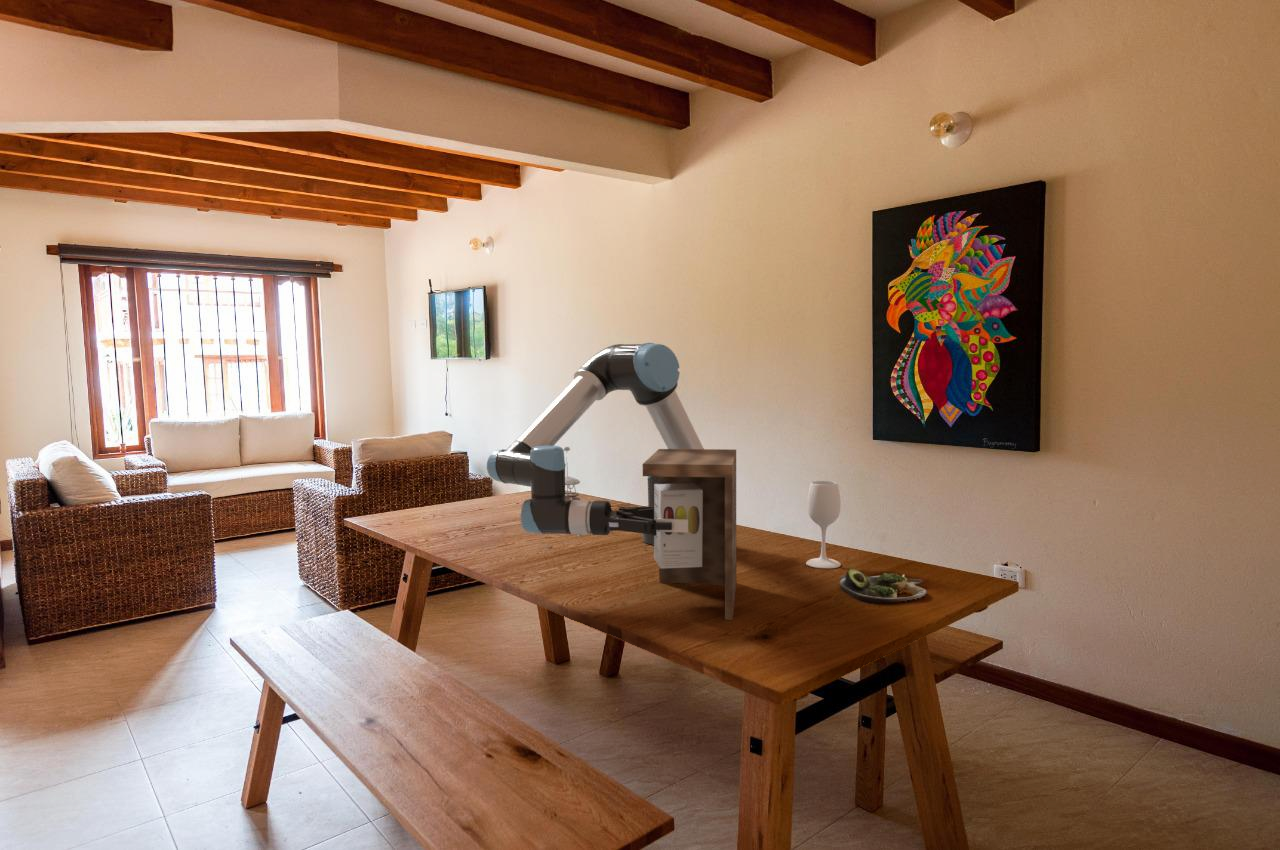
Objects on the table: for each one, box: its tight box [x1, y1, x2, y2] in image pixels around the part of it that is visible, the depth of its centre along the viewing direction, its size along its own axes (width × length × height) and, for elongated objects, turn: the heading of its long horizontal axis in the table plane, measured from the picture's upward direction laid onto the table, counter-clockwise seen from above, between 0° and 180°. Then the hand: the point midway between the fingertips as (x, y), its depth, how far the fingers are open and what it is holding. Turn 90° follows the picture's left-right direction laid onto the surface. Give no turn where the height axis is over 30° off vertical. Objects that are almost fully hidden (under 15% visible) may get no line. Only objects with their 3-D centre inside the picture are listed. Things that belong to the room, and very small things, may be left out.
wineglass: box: [805, 480, 842, 570], centre depth 197 cm, size 9×9×21 cm
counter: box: [642, 448, 737, 621], centre depth 169 cm, size 18×26×32 cm
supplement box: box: [653, 483, 703, 569], centre depth 168 cm, size 10×9×17 cm
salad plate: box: [839, 568, 928, 604], centre depth 175 cm, size 19×18×5 cm
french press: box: [563, 446, 581, 500], centre depth 249 cm, size 10×12×25 cm
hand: (690, 519), depth 168 cm, fingers closed on supplement box, 11 cm apart
